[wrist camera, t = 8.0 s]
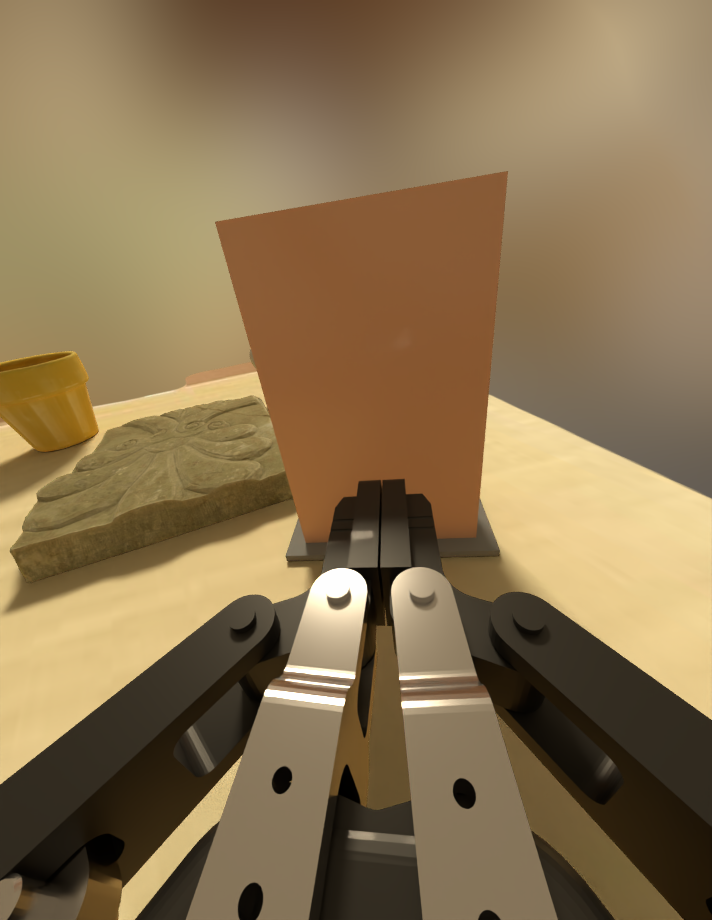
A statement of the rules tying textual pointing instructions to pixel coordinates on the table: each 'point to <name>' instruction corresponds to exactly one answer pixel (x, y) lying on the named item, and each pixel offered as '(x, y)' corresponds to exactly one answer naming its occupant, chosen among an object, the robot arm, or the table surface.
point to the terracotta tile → (376, 341)
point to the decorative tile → (155, 486)
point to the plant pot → (47, 400)
